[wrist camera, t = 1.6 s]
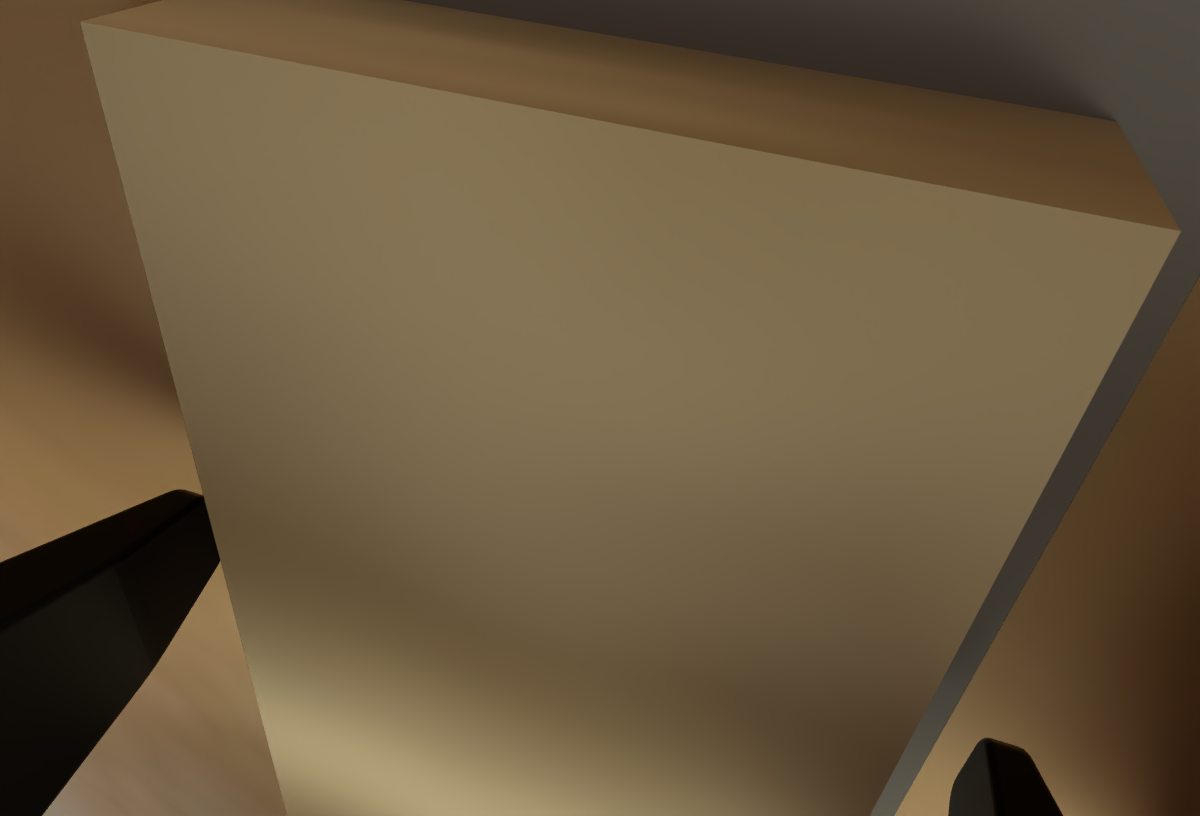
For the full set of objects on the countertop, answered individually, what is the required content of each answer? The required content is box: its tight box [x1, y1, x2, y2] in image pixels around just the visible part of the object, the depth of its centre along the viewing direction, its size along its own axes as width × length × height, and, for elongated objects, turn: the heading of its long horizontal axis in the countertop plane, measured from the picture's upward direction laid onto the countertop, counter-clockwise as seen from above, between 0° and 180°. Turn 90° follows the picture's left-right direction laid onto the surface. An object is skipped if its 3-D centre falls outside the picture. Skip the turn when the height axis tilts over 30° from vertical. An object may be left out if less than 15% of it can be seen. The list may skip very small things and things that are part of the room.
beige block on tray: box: [80, 0, 1181, 816], centre depth 10 cm, size 12×7×2 cm, turn 176°
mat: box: [405, 0, 1200, 816], centre depth 11 cm, size 14×9×1 cm, turn 176°
